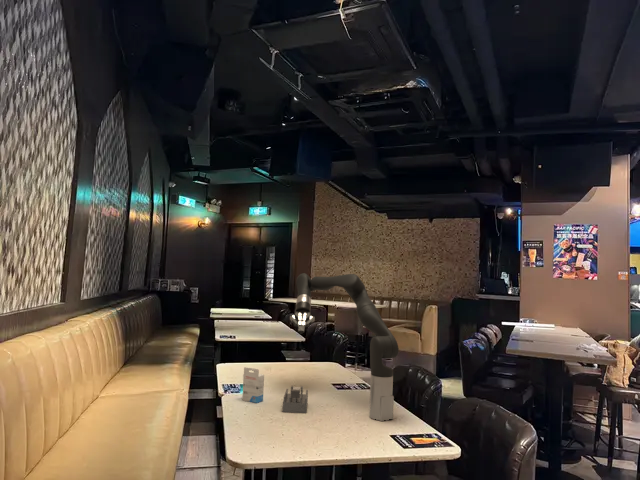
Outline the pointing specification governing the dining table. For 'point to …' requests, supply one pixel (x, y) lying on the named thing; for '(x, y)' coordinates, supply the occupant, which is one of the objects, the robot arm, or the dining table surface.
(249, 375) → the ink box
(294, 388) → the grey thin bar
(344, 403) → the dining table surface
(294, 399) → the heat sink
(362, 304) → the robot arm
